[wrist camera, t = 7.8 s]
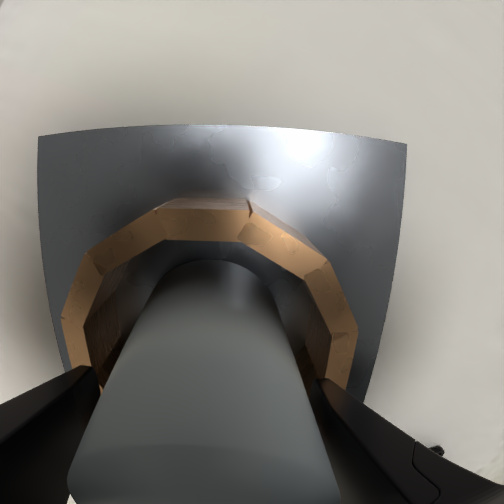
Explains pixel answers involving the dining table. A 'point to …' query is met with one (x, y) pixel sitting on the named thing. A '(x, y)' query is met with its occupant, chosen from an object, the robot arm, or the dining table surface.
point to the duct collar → (222, 233)
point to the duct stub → (204, 403)
